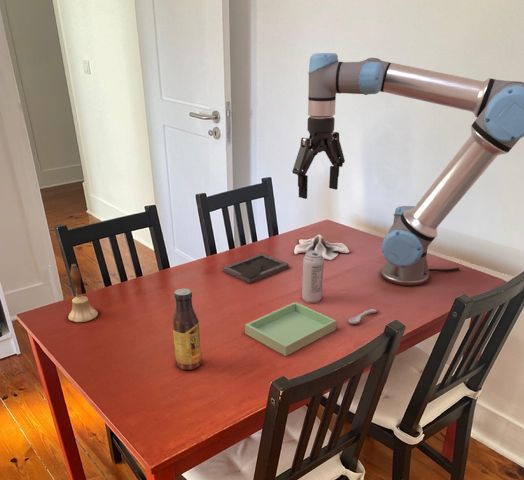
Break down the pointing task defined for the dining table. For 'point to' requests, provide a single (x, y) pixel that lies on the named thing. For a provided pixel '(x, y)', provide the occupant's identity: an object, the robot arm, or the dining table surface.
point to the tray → (290, 328)
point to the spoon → (357, 318)
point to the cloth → (321, 247)
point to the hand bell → (80, 301)
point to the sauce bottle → (186, 331)
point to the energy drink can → (312, 276)
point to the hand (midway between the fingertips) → (318, 193)
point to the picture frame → (255, 268)
